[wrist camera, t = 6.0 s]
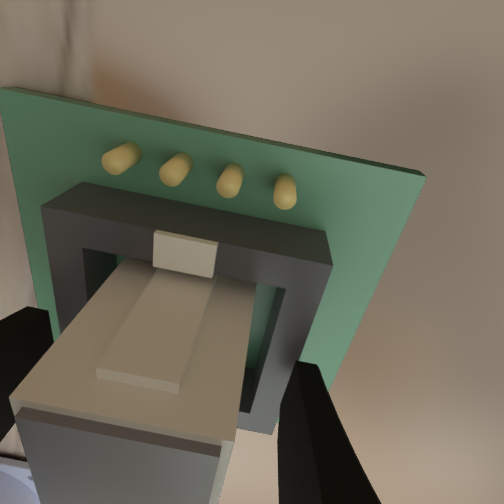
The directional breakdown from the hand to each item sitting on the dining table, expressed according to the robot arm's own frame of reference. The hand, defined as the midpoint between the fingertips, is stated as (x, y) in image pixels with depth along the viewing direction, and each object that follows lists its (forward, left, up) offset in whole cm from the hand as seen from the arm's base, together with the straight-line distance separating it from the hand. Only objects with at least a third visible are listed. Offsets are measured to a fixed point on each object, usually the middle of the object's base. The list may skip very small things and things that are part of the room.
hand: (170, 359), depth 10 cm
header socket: (0, 0, -3) cm, 3 cm away
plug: (0, 0, -3) cm, 3 cm away
